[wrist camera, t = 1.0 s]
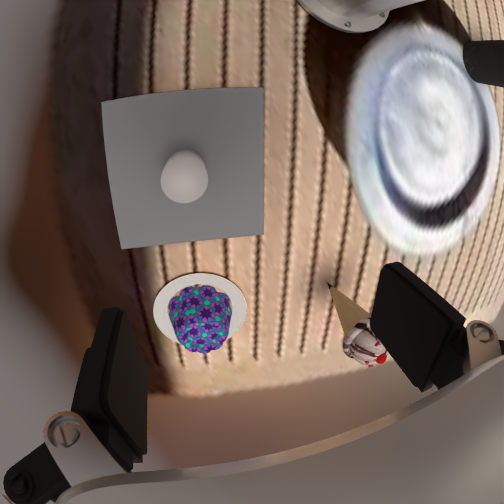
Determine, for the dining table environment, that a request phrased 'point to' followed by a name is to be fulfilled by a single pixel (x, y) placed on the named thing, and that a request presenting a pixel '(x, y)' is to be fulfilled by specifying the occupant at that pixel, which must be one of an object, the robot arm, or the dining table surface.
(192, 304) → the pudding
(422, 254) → the dining table surface
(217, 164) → the lid
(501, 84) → the travel mug
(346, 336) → the ice cream cone
